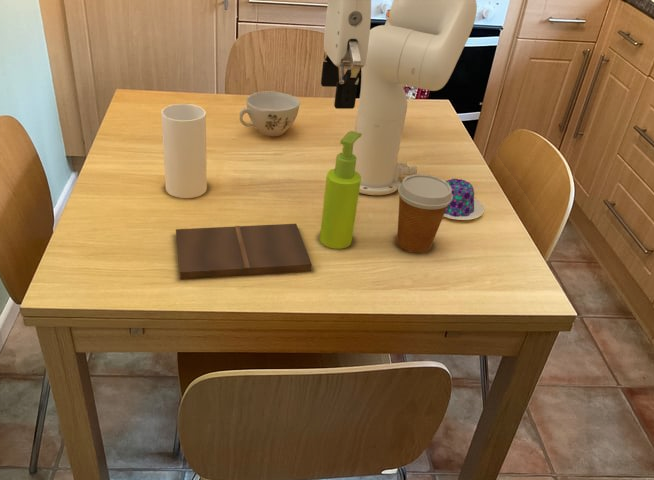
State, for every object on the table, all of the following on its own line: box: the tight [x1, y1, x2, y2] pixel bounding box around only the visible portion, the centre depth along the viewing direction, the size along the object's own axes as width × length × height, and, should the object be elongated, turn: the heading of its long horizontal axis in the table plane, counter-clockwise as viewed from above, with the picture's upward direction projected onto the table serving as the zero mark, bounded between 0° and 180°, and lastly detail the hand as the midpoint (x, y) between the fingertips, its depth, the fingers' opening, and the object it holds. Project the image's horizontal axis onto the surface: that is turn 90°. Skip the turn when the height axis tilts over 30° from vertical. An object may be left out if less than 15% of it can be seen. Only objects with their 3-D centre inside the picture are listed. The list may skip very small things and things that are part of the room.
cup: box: [160, 103, 208, 199], centre depth 122 cm, size 8×8×16 cm
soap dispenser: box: [319, 130, 362, 250], centre depth 109 cm, size 6×7×20 cm
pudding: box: [443, 178, 485, 221], centre depth 126 cm, size 12×12×5 cm
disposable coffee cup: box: [396, 173, 453, 254], centre depth 112 cm, size 10×10×12 cm
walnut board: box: [175, 223, 313, 280], centre depth 109 cm, size 22×13×2 cm, turn 101°
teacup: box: [238, 90, 301, 137], centre depth 148 cm, size 15×12×8 cm
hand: (336, 96), depth 102 cm, fingers open, 9 cm apart
